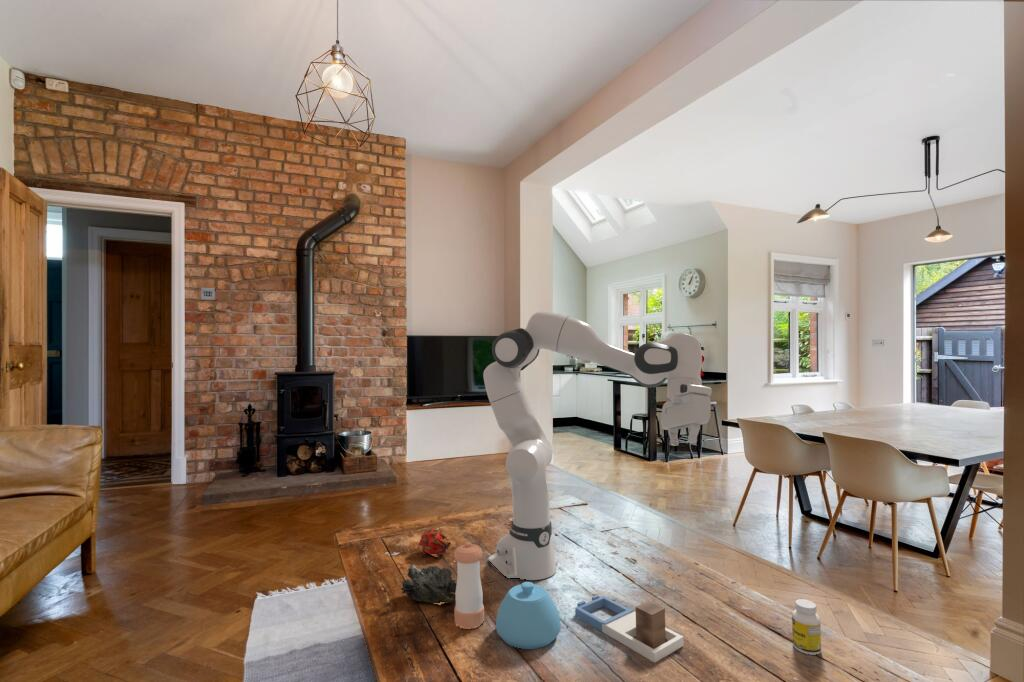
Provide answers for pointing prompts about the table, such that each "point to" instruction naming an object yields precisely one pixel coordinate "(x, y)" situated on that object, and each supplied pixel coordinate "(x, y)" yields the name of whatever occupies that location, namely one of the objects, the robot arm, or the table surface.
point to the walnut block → (650, 624)
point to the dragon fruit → (434, 542)
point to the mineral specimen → (430, 584)
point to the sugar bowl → (528, 617)
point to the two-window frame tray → (626, 627)
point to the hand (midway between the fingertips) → (683, 444)
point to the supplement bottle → (806, 627)
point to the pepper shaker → (468, 586)
